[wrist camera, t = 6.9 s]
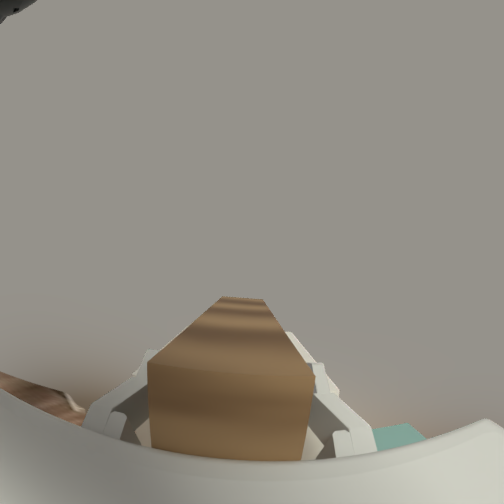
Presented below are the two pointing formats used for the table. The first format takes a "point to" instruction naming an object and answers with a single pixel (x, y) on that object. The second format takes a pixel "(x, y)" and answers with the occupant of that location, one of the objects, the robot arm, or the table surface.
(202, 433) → the rail
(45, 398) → the table surface
